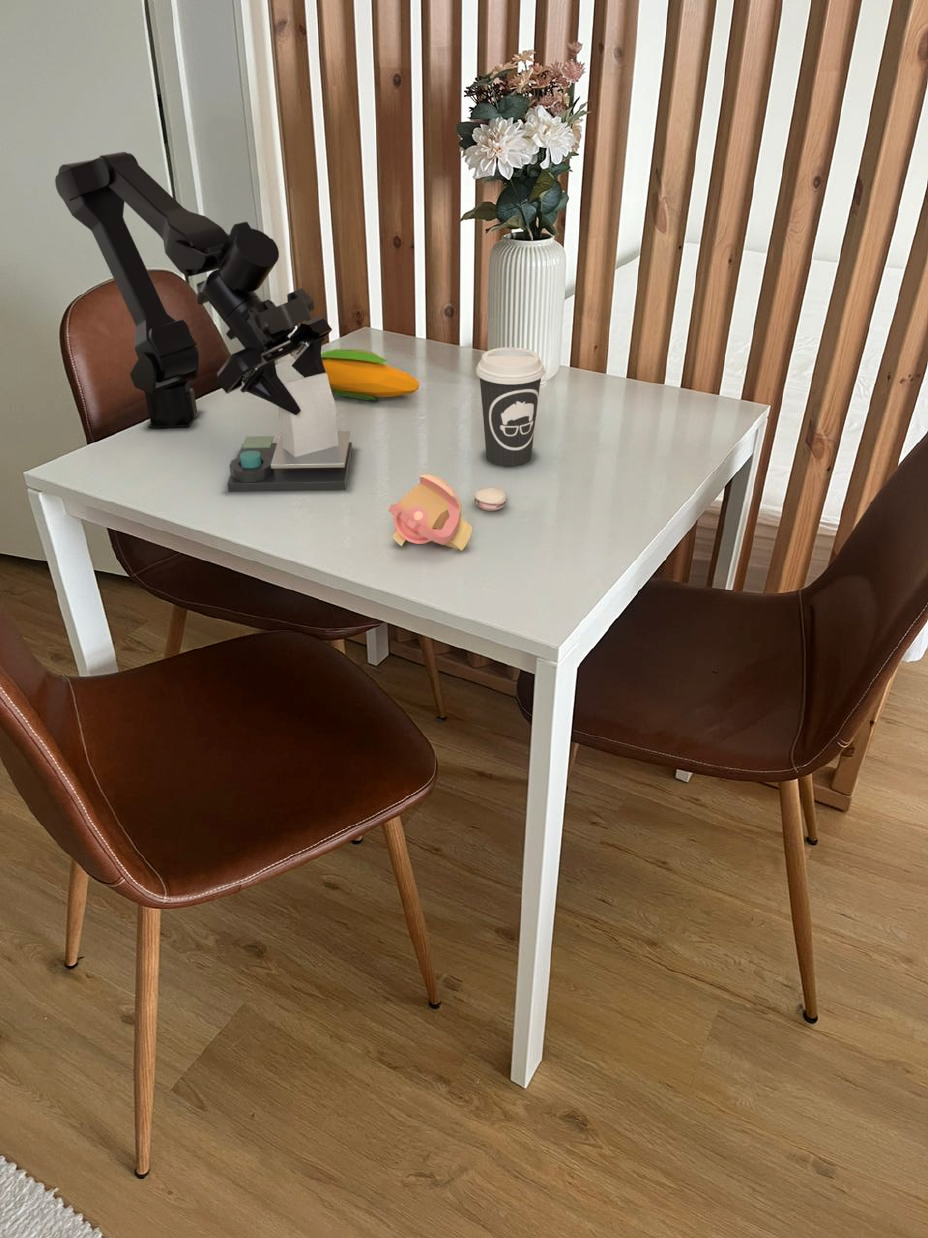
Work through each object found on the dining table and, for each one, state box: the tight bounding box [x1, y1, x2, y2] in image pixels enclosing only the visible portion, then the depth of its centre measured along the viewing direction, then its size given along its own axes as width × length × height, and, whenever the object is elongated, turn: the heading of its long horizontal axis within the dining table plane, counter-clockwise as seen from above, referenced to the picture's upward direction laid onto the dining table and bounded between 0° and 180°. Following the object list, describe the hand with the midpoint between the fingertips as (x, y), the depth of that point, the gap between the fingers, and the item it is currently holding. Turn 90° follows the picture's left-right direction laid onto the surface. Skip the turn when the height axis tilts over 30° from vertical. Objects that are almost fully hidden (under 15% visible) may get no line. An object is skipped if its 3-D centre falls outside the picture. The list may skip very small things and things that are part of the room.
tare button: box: [240, 451, 262, 468], centre depth 138 cm, size 3×3×2 cm
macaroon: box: [474, 487, 508, 512], centre depth 133 cm, size 4×5×2 cm
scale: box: [226, 441, 353, 493], centre depth 142 cm, size 16×13×3 cm
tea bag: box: [278, 373, 338, 457], centre depth 138 cm, size 4×7×10 cm, turn 125°
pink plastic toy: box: [388, 473, 474, 552], centre depth 124 cm, size 9×10×10 cm
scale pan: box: [271, 430, 351, 469], centre depth 141 cm, size 10×11×1 cm
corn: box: [321, 348, 420, 401], centre depth 164 cm, size 7×8×20 cm
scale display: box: [241, 435, 275, 448], centre depth 143 cm, size 4×4×1 cm
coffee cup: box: [475, 346, 546, 467], centre depth 142 cm, size 10×10×15 cm
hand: (314, 404), depth 137 cm, fingers closed on tea bag, 7 cm apart
